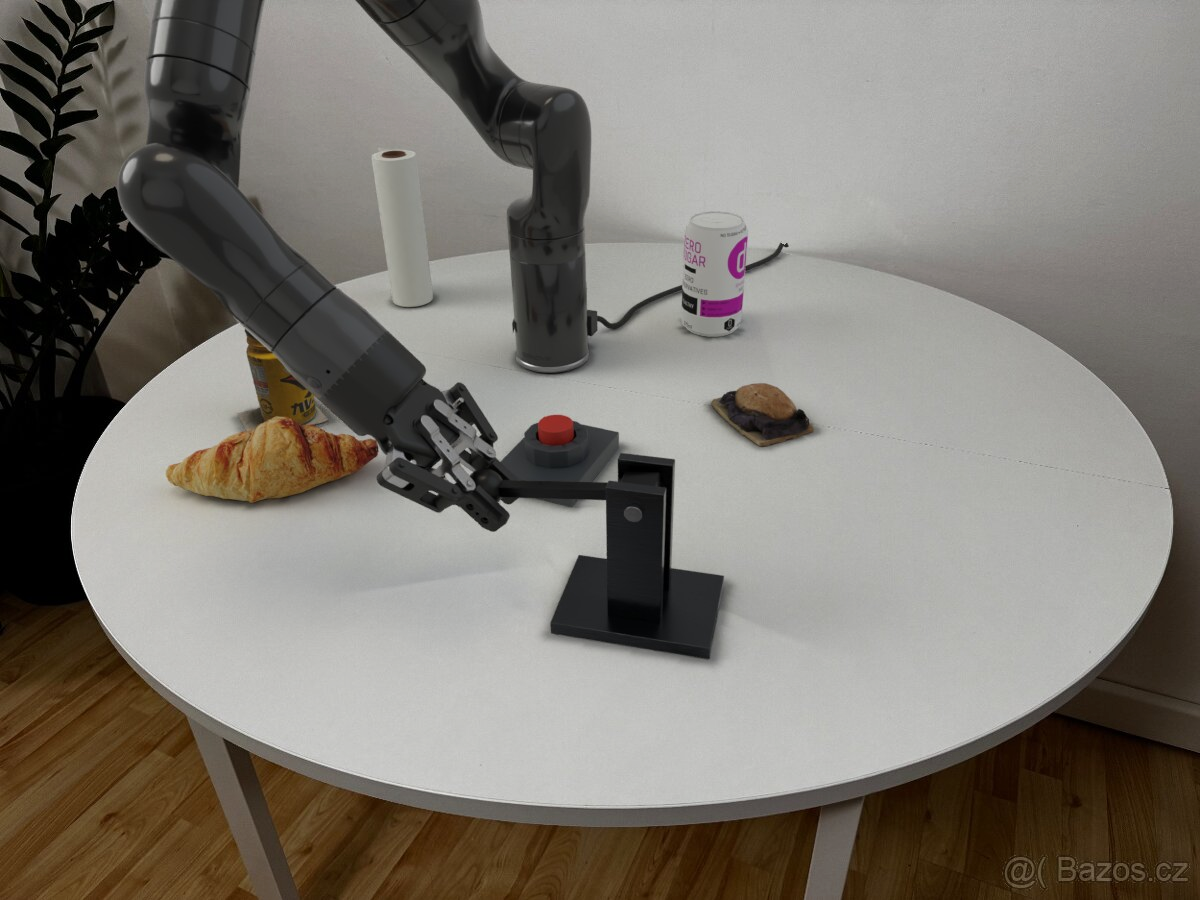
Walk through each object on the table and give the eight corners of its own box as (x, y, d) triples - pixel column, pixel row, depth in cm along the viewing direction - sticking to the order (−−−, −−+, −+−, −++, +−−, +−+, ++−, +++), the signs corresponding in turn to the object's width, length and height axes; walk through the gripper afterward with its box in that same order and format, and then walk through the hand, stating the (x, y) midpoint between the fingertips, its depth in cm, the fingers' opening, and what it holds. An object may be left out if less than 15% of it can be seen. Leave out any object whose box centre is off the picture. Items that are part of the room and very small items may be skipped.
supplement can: (750, 321, 124) (759, 215, 116) (724, 343, 119) (731, 233, 111) (698, 309, 128) (703, 206, 120) (670, 330, 122) (673, 223, 114)
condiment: (328, 421, 103) (309, 325, 96) (254, 443, 99) (228, 344, 93) (308, 396, 108) (288, 303, 102) (237, 416, 104) (211, 321, 98)
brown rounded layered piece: (705, 406, 105) (706, 378, 103) (766, 391, 107) (768, 363, 106) (755, 449, 96) (757, 420, 94) (820, 431, 99) (823, 402, 97)
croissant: (175, 533, 91) (145, 497, 84) (178, 449, 96) (150, 408, 89) (387, 503, 94) (375, 466, 87) (380, 422, 99) (368, 381, 92)
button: (548, 426, 94) (547, 411, 93) (579, 432, 93) (579, 418, 92) (532, 442, 91) (531, 428, 90) (564, 449, 90) (563, 435, 89)
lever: (463, 515, 72) (455, 482, 71) (477, 493, 75) (469, 460, 73) (657, 521, 68) (652, 486, 66) (664, 498, 71) (660, 463, 69)
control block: (545, 431, 100) (543, 400, 98) (619, 447, 97) (619, 415, 95) (492, 487, 91) (488, 454, 89) (572, 507, 88) (570, 473, 86)
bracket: (550, 633, 73) (542, 495, 66) (578, 564, 80) (574, 433, 73) (709, 659, 70) (719, 518, 63) (723, 585, 78) (733, 451, 70)
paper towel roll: (430, 308, 130) (411, 158, 119) (388, 308, 130) (366, 159, 119) (438, 289, 136) (421, 145, 125) (398, 289, 136) (378, 145, 125)
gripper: (331, 377, 61) (511, 542, 65) (415, 298, 73) (563, 442, 77) (277, 433, 65) (450, 586, 69) (365, 350, 77) (509, 485, 81)
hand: (509, 510), depth 73 cm, fingers closed on lever, 3 cm apart
